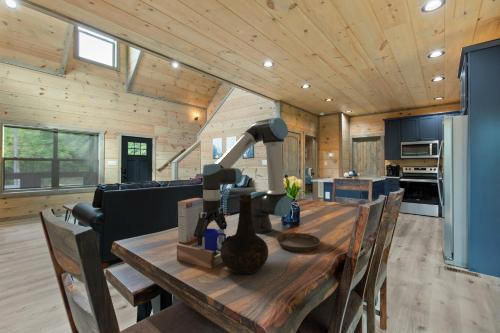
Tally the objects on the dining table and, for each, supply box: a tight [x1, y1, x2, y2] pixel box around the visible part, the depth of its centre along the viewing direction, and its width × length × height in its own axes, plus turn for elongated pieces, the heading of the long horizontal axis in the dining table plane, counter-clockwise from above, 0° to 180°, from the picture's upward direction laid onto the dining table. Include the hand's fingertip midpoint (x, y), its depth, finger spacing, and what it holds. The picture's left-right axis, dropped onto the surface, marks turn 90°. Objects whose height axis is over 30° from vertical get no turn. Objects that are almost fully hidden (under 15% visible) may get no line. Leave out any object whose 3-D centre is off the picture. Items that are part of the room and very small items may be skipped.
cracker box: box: [177, 197, 204, 244], centre depth 125 cm, size 14×6×21 cm, turn 155°
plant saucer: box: [276, 232, 321, 252], centre depth 116 cm, size 21×21×3 cm
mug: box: [203, 228, 227, 255], centre depth 104 cm, size 8×12×10 cm
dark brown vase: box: [220, 193, 269, 275], centre depth 89 cm, size 18×18×28 cm
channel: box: [176, 242, 224, 269], centre depth 101 cm, size 17×18×6 cm
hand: (211, 248), depth 104 cm, fingers open, 13 cm apart
